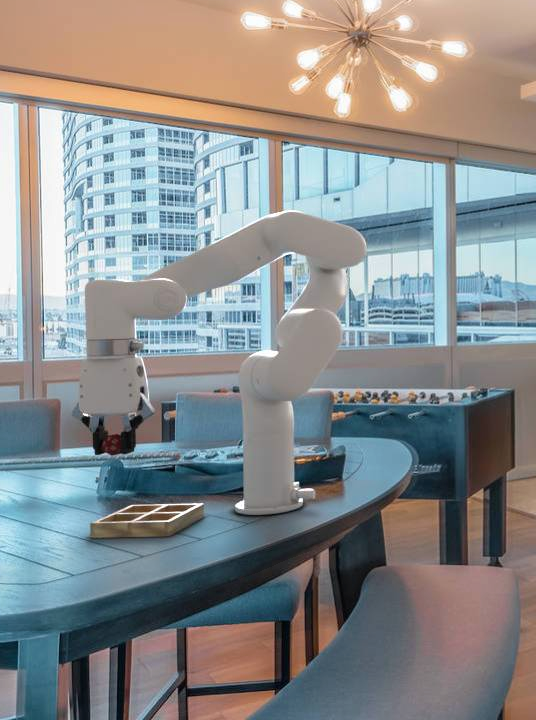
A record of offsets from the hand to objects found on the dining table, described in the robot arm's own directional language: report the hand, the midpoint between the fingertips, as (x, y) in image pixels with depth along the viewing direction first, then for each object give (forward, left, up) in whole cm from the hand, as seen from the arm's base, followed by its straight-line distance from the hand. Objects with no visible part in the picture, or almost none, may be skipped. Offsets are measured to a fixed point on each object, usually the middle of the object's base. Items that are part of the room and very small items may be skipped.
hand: (114, 452), depth 142 cm
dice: (0, 0, -1) cm, 1 cm away
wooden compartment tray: (-3, -6, -15) cm, 16 cm away
